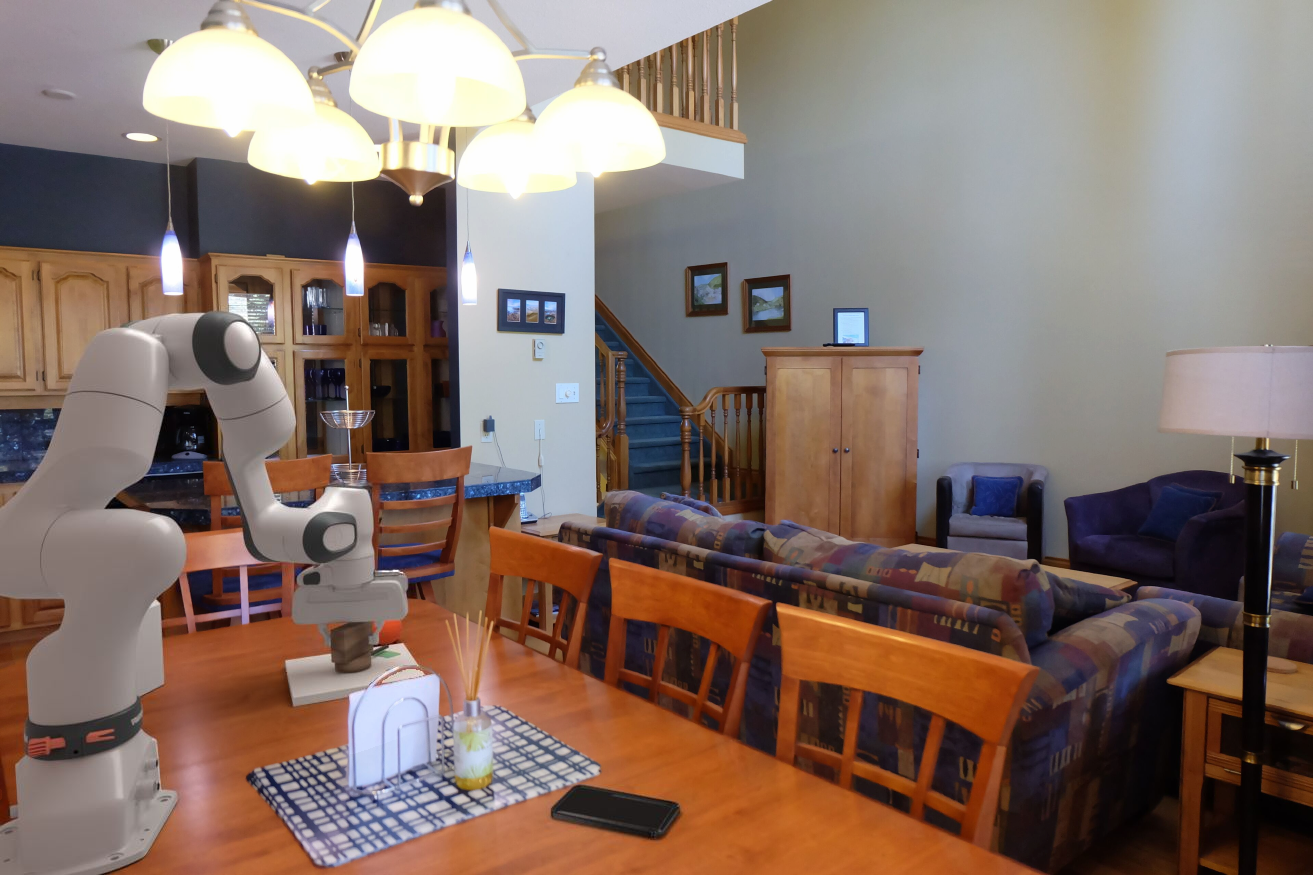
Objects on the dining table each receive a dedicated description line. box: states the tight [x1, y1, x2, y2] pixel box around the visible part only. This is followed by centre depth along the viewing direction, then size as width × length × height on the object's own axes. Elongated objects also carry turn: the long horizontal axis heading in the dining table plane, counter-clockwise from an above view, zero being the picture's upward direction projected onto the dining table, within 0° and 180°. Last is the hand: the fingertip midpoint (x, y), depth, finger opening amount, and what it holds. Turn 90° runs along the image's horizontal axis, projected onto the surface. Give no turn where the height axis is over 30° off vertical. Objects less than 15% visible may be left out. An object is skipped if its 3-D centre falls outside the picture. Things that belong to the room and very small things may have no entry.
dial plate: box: [284, 642, 426, 707], centre depth 155 cm, size 22×22×2 cm
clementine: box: [372, 620, 403, 646], centre depth 174 cm, size 8×7×7 cm
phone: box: [550, 783, 681, 840], centre depth 104 cm, size 8×1×15 cm
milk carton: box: [136, 598, 165, 698], centre depth 148 cm, size 7×7×19 cm
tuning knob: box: [329, 621, 390, 673], centre depth 158 cm, size 6×14×8 cm, turn 162°
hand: (352, 644), depth 155 cm, fingers open, 6 cm apart
